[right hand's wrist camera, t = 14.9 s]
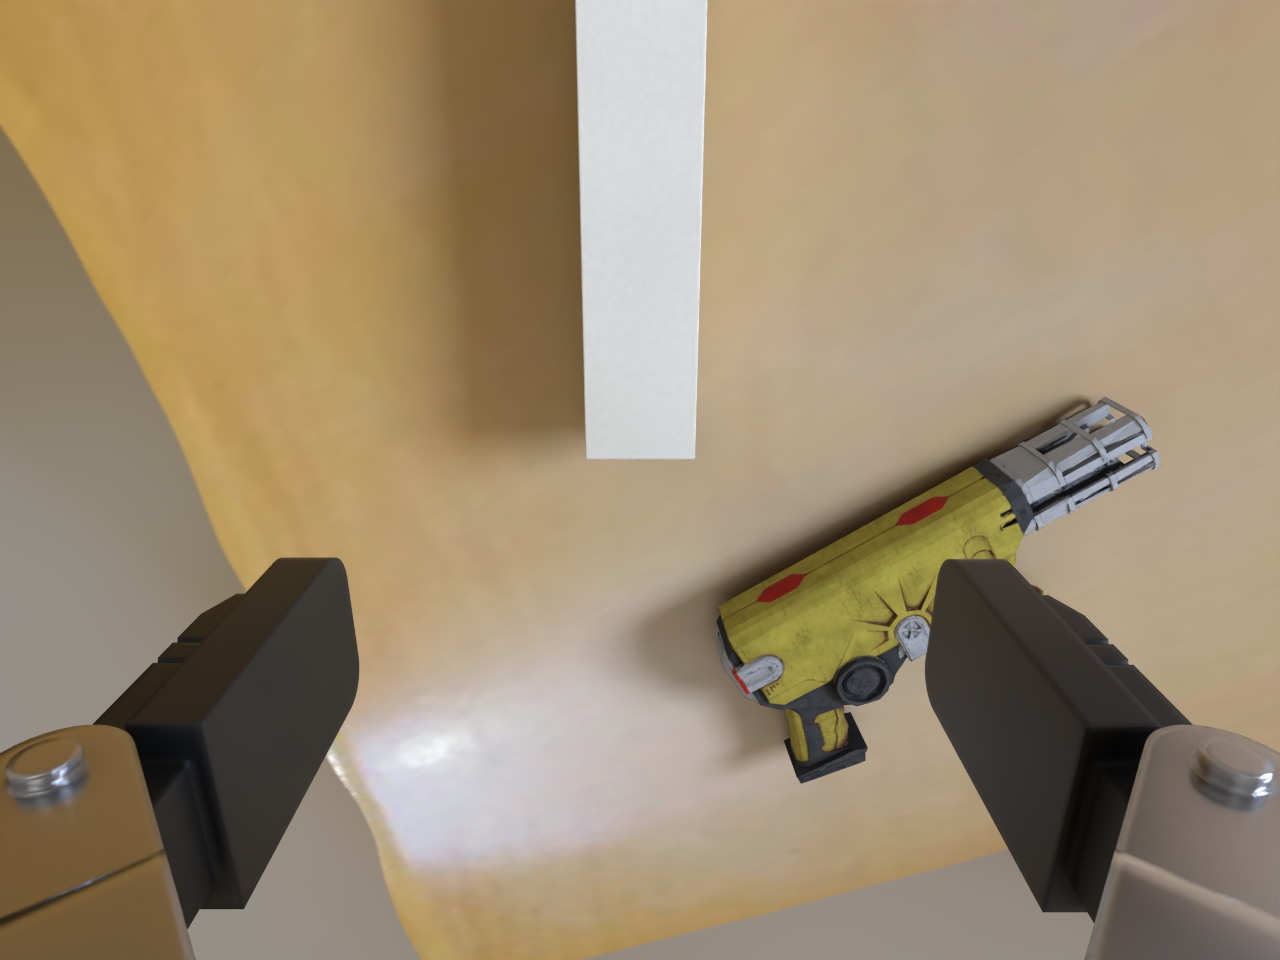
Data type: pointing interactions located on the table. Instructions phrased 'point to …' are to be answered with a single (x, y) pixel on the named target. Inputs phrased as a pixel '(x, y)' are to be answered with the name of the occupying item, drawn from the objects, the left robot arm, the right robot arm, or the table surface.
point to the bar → (640, 222)
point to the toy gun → (905, 581)
